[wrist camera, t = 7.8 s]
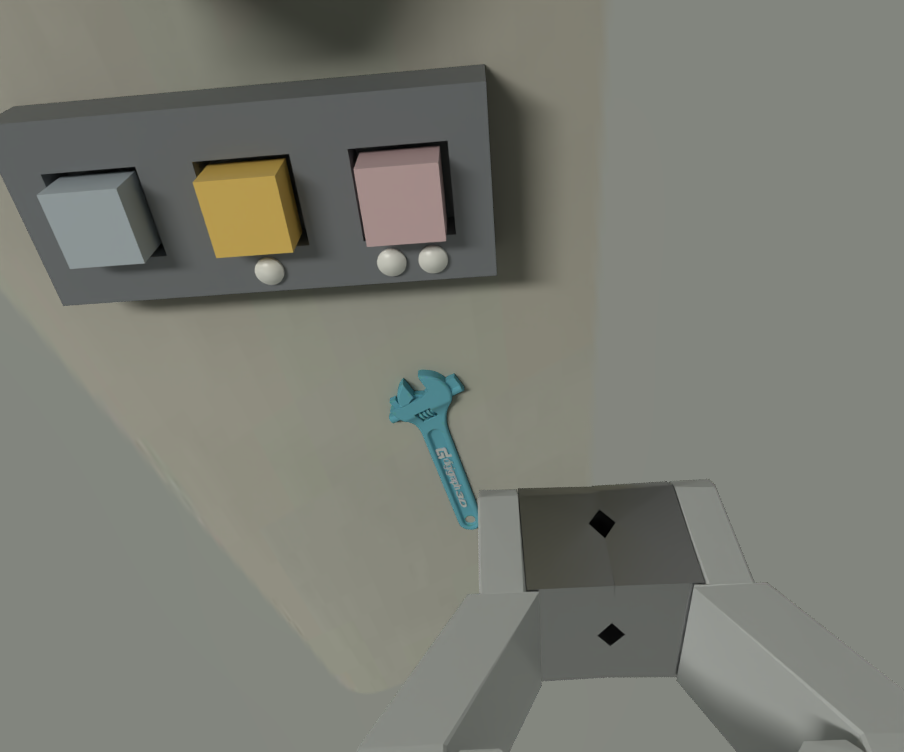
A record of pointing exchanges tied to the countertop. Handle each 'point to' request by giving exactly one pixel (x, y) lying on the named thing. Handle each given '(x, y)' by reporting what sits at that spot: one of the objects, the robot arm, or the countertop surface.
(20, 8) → the countertop surface
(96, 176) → the button none
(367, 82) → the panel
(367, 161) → the button two
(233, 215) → the button one
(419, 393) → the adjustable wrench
